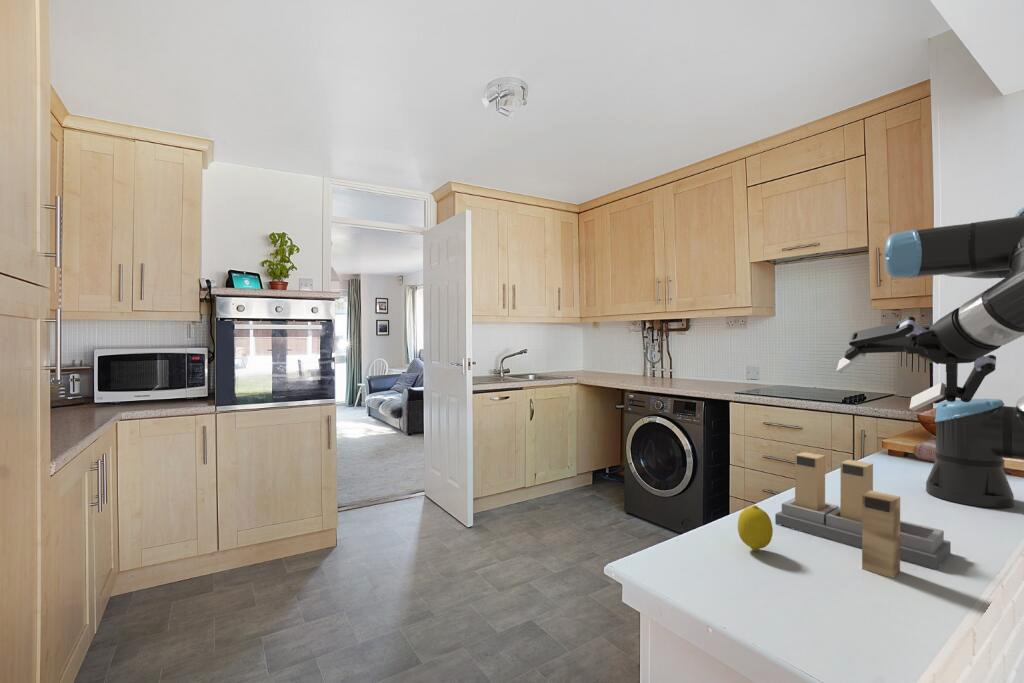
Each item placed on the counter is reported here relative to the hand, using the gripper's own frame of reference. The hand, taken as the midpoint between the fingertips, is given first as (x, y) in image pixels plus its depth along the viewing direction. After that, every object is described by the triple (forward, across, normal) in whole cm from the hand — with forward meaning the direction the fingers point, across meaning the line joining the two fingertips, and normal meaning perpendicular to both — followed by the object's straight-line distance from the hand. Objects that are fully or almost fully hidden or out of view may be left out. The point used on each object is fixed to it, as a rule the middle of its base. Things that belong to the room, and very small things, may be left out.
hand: (875, 385), depth 91 cm
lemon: (+12, -6, -36) cm, 38 cm away
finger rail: (+16, +12, -21) cm, 29 cm away
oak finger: (+5, +10, -30) cm, 32 cm away
